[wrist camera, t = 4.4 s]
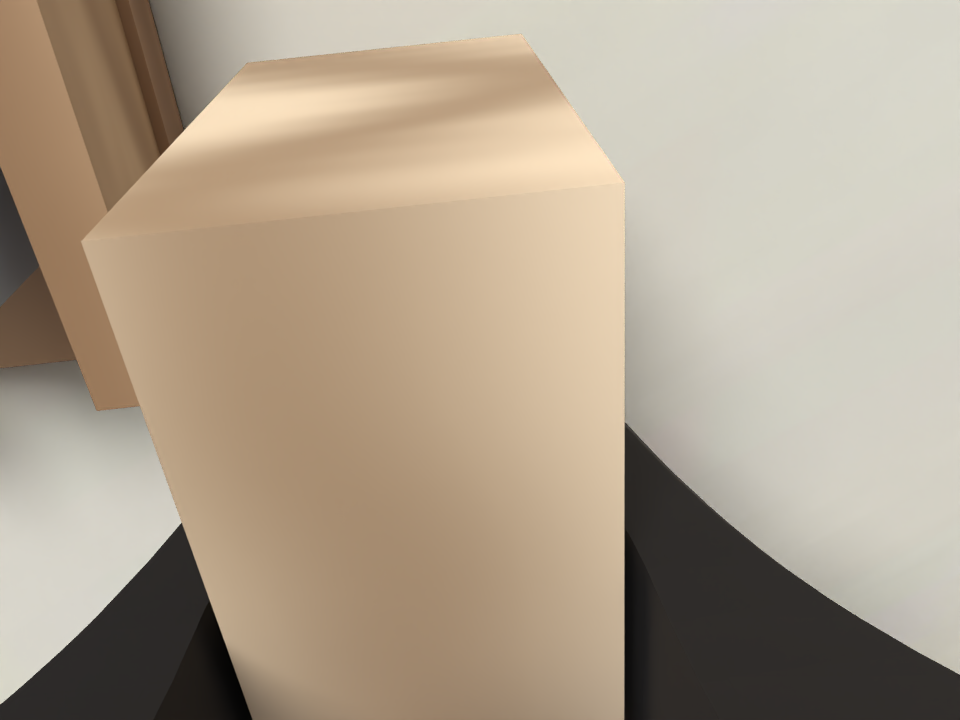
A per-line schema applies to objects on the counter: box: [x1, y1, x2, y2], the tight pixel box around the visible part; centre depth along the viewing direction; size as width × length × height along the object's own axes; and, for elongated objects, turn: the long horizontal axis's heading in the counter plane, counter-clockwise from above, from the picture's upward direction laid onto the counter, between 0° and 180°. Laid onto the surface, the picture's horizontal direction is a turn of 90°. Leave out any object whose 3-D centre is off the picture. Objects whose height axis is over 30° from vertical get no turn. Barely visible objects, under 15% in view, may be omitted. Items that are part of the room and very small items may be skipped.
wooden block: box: [81, 34, 625, 720], centre depth 10 cm, size 4×10×6 cm, turn 5°
